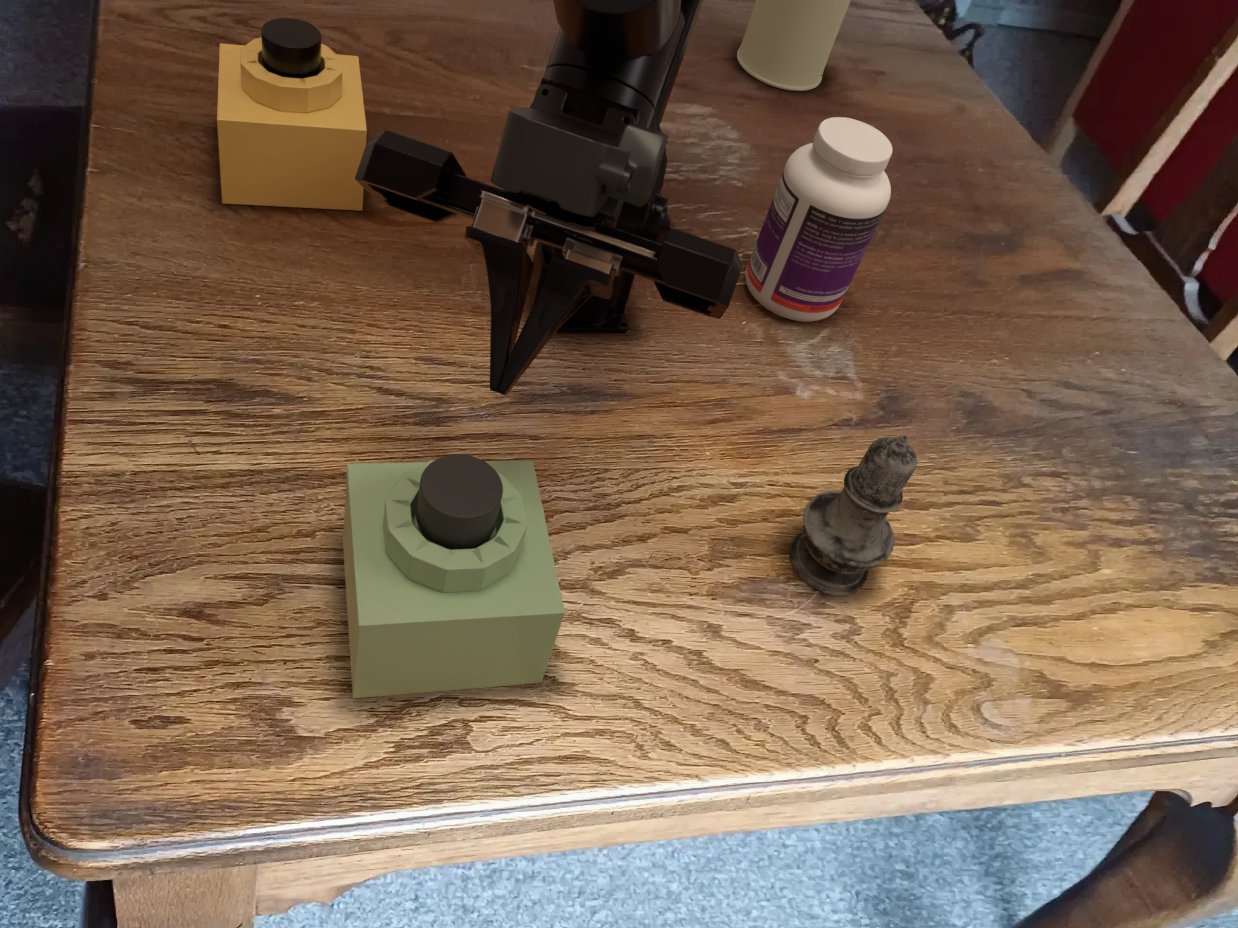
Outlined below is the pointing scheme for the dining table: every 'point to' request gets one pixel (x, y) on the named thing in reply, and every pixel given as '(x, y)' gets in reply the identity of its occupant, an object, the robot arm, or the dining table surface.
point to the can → (791, 41)
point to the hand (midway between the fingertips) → (498, 392)
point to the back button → (291, 48)
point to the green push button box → (445, 588)
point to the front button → (458, 501)
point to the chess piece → (853, 520)
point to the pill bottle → (821, 220)
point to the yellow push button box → (290, 132)
